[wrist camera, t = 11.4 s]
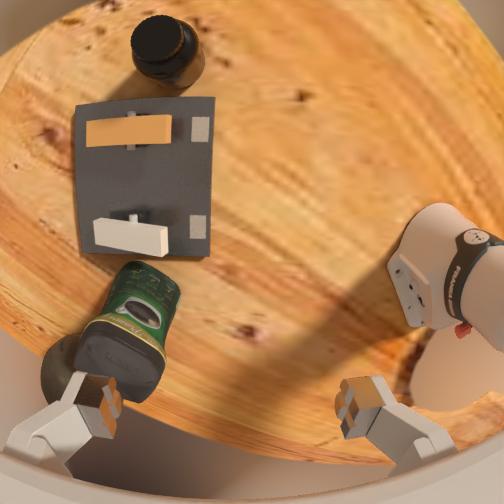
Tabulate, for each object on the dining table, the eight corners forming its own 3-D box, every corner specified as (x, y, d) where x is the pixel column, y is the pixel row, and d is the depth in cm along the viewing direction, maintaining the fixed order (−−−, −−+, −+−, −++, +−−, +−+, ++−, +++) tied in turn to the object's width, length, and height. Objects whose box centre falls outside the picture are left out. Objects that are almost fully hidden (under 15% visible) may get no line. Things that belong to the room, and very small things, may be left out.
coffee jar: (109, 290, 42) (59, 375, 25) (132, 250, 40) (78, 329, 23) (163, 323, 45) (139, 419, 28) (190, 287, 43) (172, 382, 26)
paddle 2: (171, 218, 33) (160, 224, 31) (172, 255, 35) (161, 263, 33) (105, 210, 36) (92, 215, 33) (108, 243, 37) (96, 249, 35)
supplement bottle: (214, 50, 31) (209, 17, 20) (190, 97, 34) (174, 82, 22) (165, 34, 30) (141, -1, 19) (141, 80, 32) (107, 61, 21)
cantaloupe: (61, 362, 47) (32, 419, 33) (63, 305, 43) (21, 364, 29) (129, 389, 50) (111, 453, 36) (141, 335, 46) (117, 406, 32)
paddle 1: (175, 109, 30) (166, 107, 27) (173, 148, 31) (165, 150, 29) (98, 115, 30) (86, 115, 28) (97, 151, 32) (86, 153, 30)
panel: (215, 98, 34) (214, 94, 31) (210, 252, 41) (208, 262, 38) (80, 106, 32) (68, 104, 29) (86, 248, 40) (77, 258, 36)
